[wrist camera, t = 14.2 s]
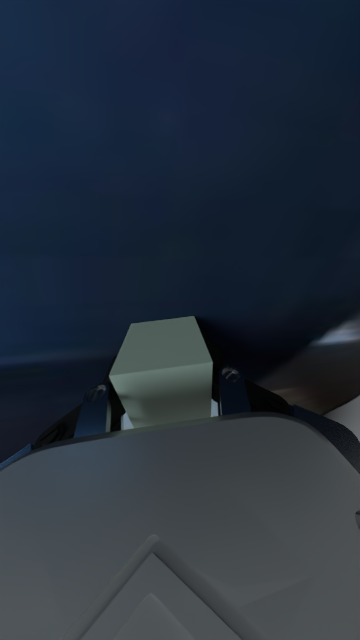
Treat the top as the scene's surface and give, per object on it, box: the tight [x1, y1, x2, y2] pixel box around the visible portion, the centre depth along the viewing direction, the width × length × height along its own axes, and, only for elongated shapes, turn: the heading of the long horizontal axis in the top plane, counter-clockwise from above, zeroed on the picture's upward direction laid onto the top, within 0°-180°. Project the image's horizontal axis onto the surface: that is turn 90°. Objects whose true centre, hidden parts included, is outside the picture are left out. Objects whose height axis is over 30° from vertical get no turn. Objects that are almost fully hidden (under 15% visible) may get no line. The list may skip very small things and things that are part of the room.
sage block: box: [109, 316, 213, 428], centre depth 10 cm, size 5×5×5 cm
